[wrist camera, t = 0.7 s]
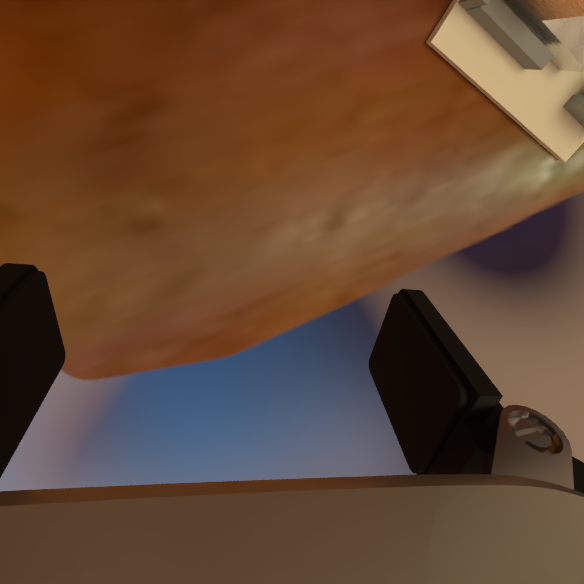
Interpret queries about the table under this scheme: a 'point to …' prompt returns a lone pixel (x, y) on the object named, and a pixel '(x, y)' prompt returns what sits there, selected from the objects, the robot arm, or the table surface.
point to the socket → (576, 107)
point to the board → (511, 70)
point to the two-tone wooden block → (555, 28)
